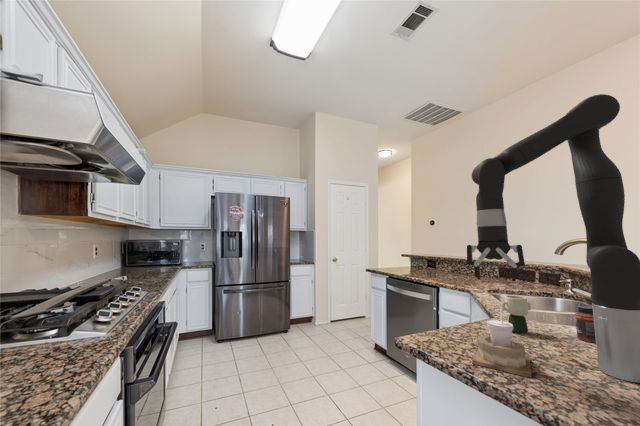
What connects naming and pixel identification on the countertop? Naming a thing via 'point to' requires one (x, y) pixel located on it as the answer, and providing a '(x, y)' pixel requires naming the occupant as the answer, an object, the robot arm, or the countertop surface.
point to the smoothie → (500, 331)
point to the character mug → (517, 311)
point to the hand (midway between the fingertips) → (496, 280)
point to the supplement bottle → (585, 324)
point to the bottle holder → (502, 356)
